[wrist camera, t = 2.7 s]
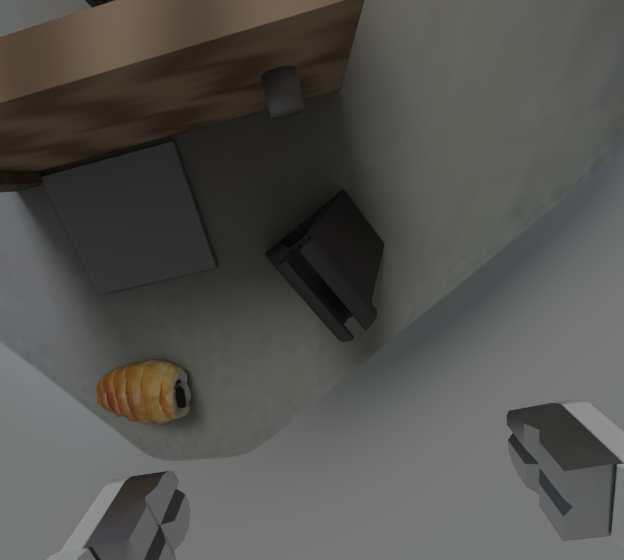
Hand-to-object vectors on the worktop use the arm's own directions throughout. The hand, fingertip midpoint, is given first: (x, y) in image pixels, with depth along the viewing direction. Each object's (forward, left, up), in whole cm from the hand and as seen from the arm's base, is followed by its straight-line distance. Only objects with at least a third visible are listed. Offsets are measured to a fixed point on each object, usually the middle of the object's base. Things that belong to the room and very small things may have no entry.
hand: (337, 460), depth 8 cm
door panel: (+10, -13, -22) cm, 28 cm away
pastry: (+21, +11, -23) cm, 33 cm away
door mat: (+16, -6, -22) cm, 28 cm away
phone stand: (0, 0, -23) cm, 23 cm away
